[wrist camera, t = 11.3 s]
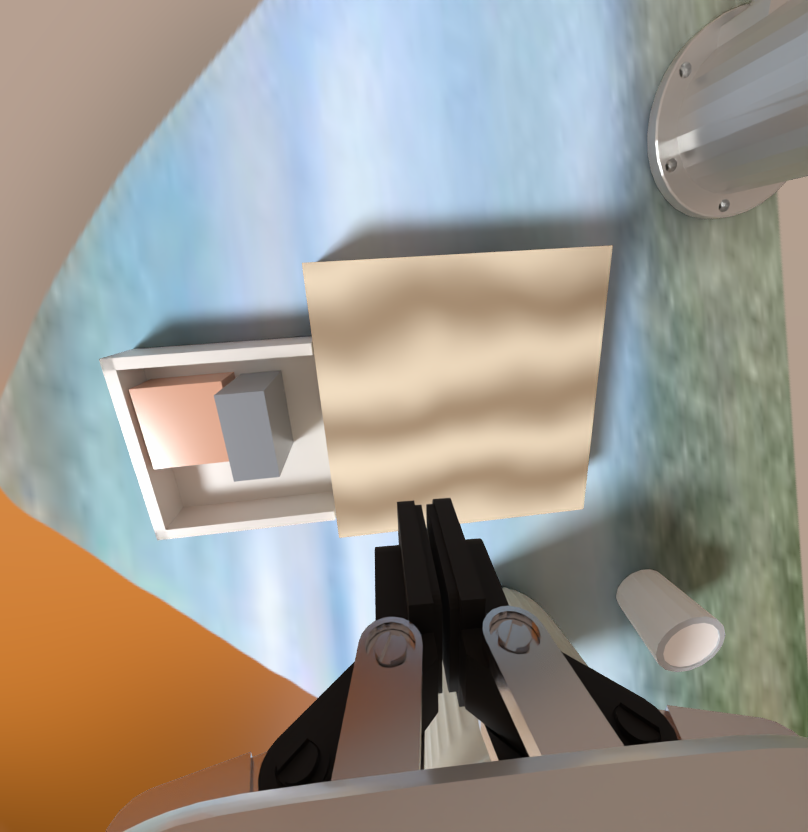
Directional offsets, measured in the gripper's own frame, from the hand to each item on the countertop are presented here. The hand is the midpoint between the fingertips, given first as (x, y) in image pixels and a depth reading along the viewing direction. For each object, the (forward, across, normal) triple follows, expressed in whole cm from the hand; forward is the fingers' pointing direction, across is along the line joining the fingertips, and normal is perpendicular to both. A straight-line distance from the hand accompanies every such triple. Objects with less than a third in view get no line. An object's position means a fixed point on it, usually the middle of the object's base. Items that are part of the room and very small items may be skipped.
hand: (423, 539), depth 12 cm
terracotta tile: (+16, +15, +2) cm, 22 cm away
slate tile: (+17, +8, +2) cm, 19 cm away
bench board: (+21, -5, +2) cm, 22 cm away
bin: (+20, +12, +4) cm, 24 cm away
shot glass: (+22, -26, +26) cm, 43 cm away
